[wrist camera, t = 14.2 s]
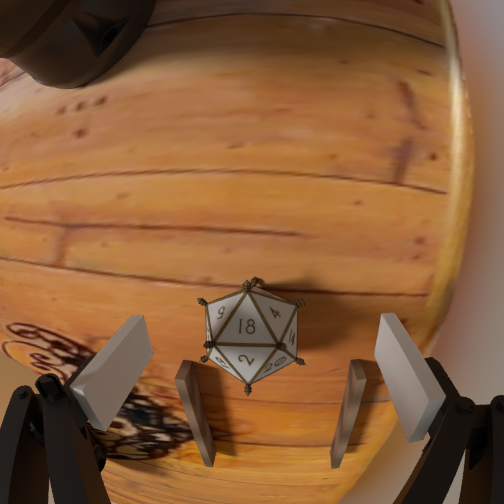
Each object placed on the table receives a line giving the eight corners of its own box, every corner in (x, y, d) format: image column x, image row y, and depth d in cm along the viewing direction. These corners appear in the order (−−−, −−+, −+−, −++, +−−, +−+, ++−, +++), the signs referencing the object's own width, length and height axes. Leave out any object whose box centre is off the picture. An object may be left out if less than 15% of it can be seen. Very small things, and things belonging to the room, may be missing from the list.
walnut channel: (183, 360, 27) (174, 379, 25) (360, 359, 25) (366, 378, 23) (209, 450, 33) (205, 466, 30) (337, 451, 31) (338, 467, 28)
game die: (270, 275, 28) (341, 277, 19) (270, 358, 27) (335, 391, 18) (179, 276, 24) (215, 282, 15) (182, 369, 23) (220, 422, 14)
